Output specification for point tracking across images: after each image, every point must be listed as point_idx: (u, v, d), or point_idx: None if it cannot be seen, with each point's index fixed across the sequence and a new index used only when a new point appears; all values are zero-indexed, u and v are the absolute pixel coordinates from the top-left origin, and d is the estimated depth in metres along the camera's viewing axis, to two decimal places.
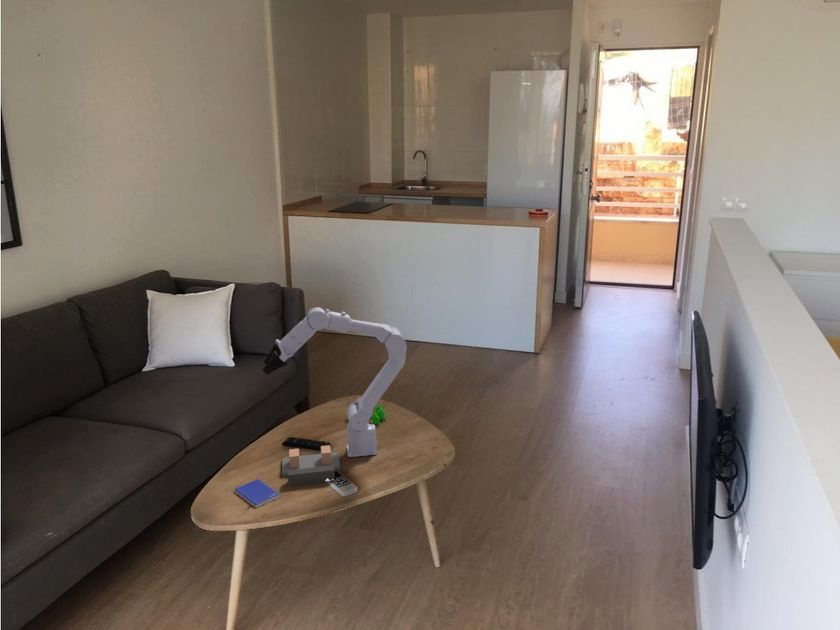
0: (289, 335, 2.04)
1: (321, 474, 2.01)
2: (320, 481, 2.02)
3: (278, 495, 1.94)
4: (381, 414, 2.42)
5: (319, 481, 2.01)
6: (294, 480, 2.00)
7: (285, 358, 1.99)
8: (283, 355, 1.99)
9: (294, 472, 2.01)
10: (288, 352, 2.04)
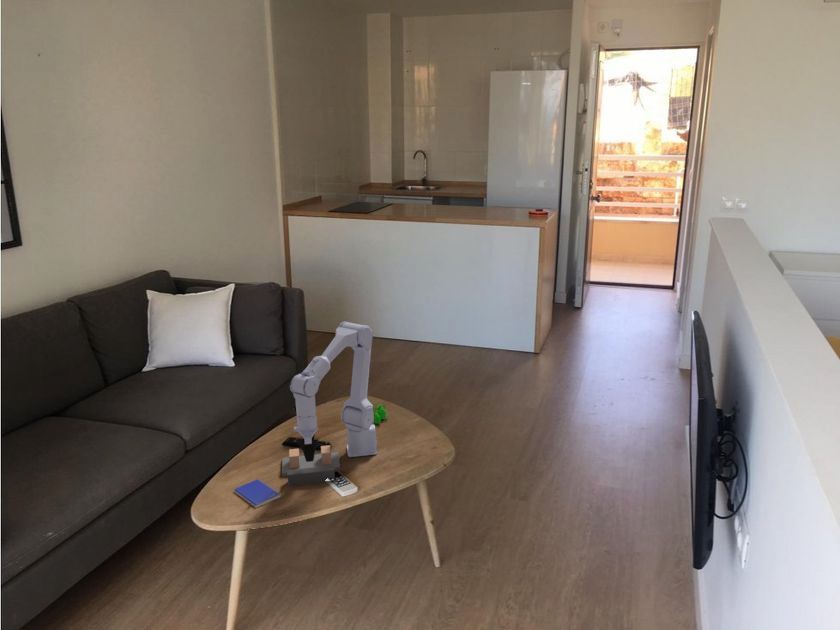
0: (298, 417, 1.95)
1: (321, 474, 2.01)
2: (320, 481, 2.02)
3: (278, 495, 1.94)
4: (382, 414, 2.42)
5: (319, 481, 2.01)
6: (294, 480, 2.00)
7: (309, 440, 1.91)
8: (306, 439, 1.91)
9: (294, 472, 2.01)
10: (310, 430, 1.95)
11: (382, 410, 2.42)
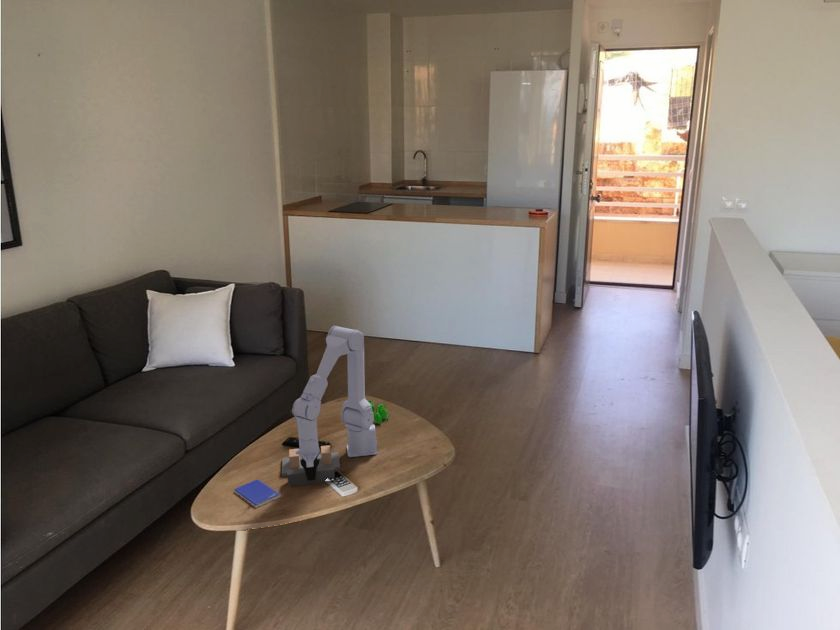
0: (300, 440, 1.97)
1: (321, 473, 2.01)
2: (320, 481, 2.01)
3: (278, 495, 1.94)
4: (383, 413, 2.42)
5: (319, 481, 2.01)
6: (294, 479, 2.00)
7: (311, 463, 1.93)
8: (307, 463, 1.93)
9: (294, 471, 2.01)
10: (312, 453, 1.97)
11: (383, 410, 2.43)
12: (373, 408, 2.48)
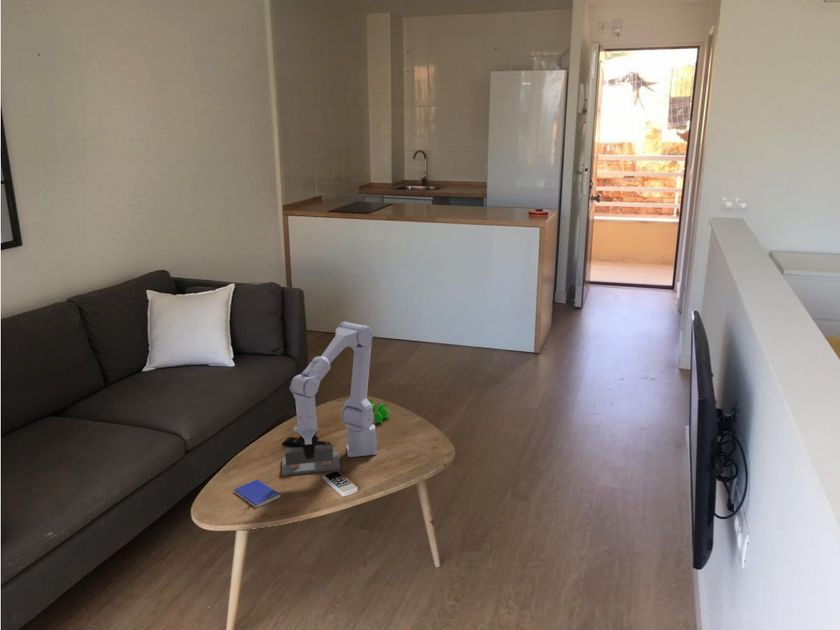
0: (298, 418, 1.95)
1: (319, 452, 1.99)
2: (318, 460, 2.00)
3: (278, 495, 1.94)
4: (384, 413, 2.43)
5: (317, 460, 1.99)
6: (292, 458, 1.98)
7: (310, 440, 1.91)
8: (306, 440, 1.91)
9: (292, 450, 1.99)
10: (310, 431, 1.95)
11: (384, 409, 2.43)
12: (374, 408, 2.49)
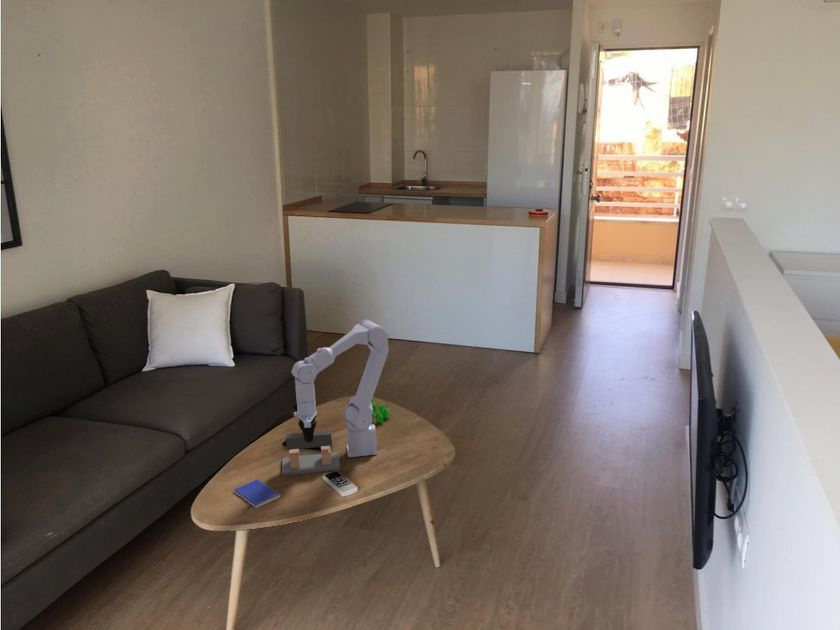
0: (298, 403, 2.04)
1: (318, 437, 2.08)
2: (317, 445, 2.09)
3: (278, 495, 1.94)
4: (385, 413, 2.43)
5: (316, 445, 2.09)
6: (292, 443, 2.07)
7: (309, 424, 2.00)
8: (305, 423, 2.00)
9: (292, 435, 2.08)
10: (309, 415, 2.04)
11: (385, 409, 2.43)
12: (374, 408, 2.49)
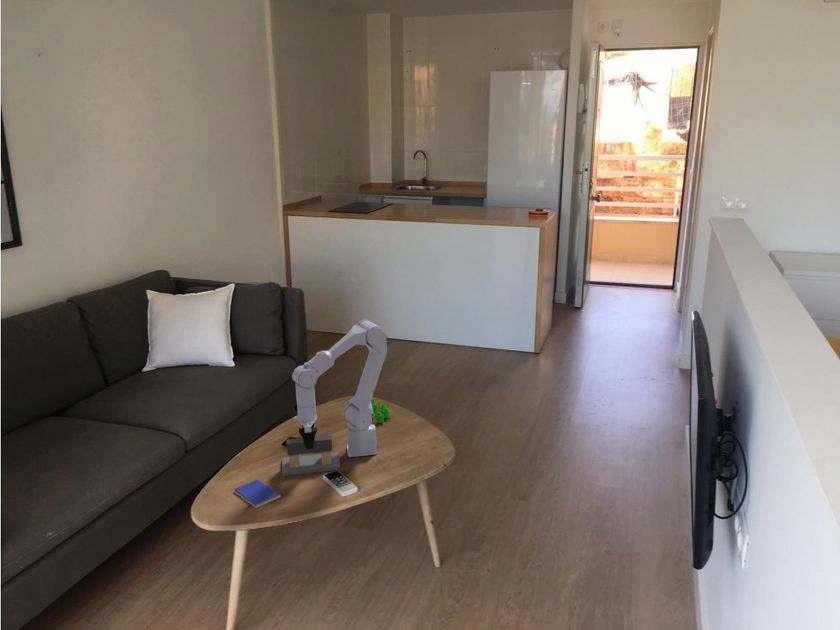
0: (298, 407, 2.05)
1: (318, 443, 2.09)
2: (318, 450, 2.10)
3: (278, 495, 1.94)
4: (385, 413, 2.43)
5: (317, 450, 2.09)
6: (293, 449, 2.08)
7: (309, 428, 2.01)
8: (305, 428, 2.01)
9: (293, 441, 2.09)
10: (310, 419, 2.05)
11: (385, 409, 2.43)
12: (375, 407, 2.49)
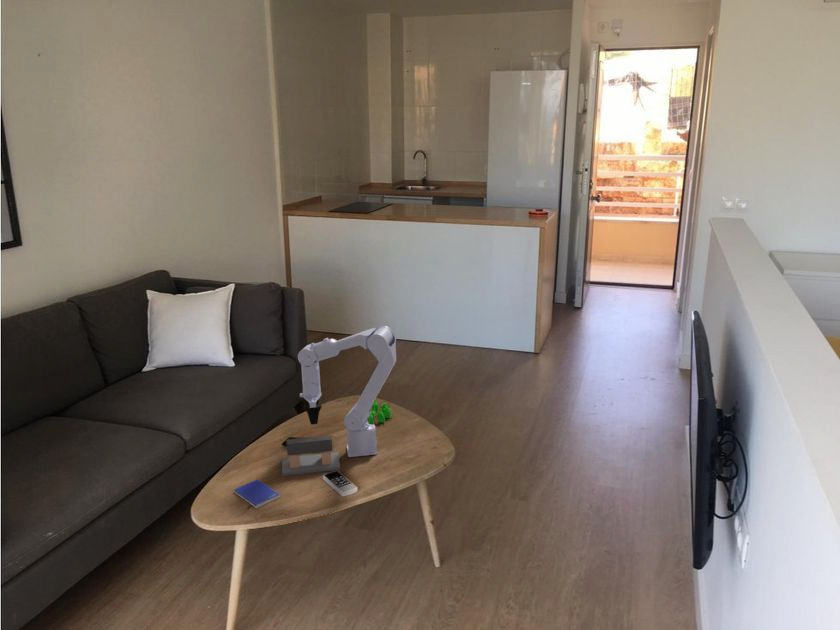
0: (303, 384, 2.15)
1: (318, 443, 2.09)
2: (318, 450, 2.10)
3: (278, 495, 1.94)
4: (387, 412, 2.43)
5: (317, 450, 2.09)
6: (293, 449, 2.08)
7: (314, 404, 2.12)
8: (310, 403, 2.11)
9: (293, 441, 2.09)
10: (314, 396, 2.16)
11: (386, 409, 2.43)
12: (377, 407, 2.49)
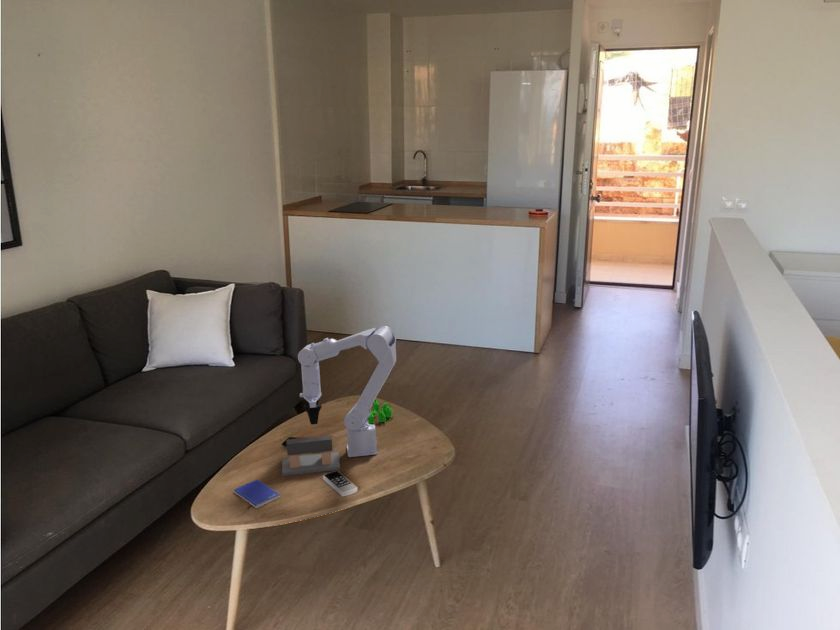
0: (303, 384, 2.15)
1: (318, 443, 2.09)
2: (318, 450, 2.10)
3: (278, 495, 1.94)
4: (388, 412, 2.43)
5: (317, 450, 2.09)
6: (293, 449, 2.08)
7: (314, 404, 2.12)
8: (310, 403, 2.11)
9: (293, 441, 2.09)
10: (314, 396, 2.16)
11: (387, 408, 2.44)
12: (378, 407, 2.50)
